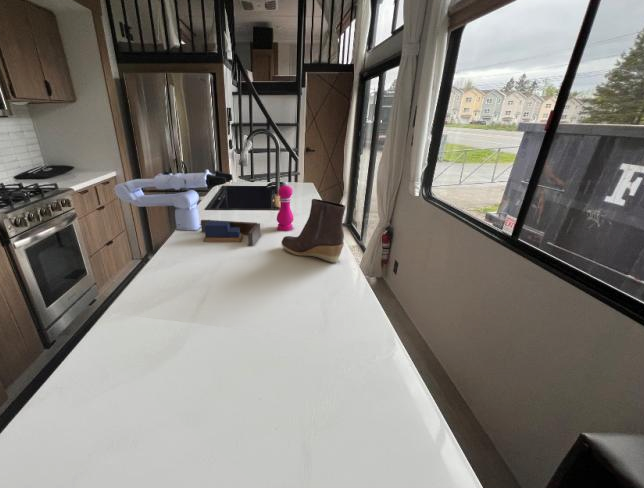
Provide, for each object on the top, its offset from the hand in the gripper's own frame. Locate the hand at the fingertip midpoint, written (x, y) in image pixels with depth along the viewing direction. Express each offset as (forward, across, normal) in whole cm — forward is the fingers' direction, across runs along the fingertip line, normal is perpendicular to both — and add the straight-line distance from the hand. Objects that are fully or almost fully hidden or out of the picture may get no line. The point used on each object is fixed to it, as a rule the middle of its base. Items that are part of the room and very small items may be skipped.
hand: (228, 178), depth 130 cm
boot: (+34, -19, +25) cm, 46 cm away
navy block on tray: (-1, -9, +22) cm, 24 cm away
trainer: (-2, -11, +22) cm, 24 cm away
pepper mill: (+20, +7, +23) cm, 32 cm away
